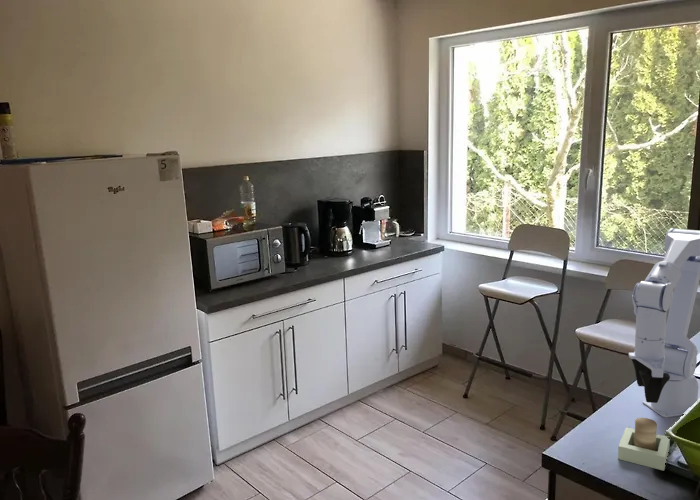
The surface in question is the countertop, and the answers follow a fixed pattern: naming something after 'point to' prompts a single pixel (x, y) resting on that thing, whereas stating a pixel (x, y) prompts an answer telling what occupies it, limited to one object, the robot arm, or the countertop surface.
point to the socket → (643, 451)
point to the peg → (645, 433)
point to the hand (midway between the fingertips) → (647, 393)
